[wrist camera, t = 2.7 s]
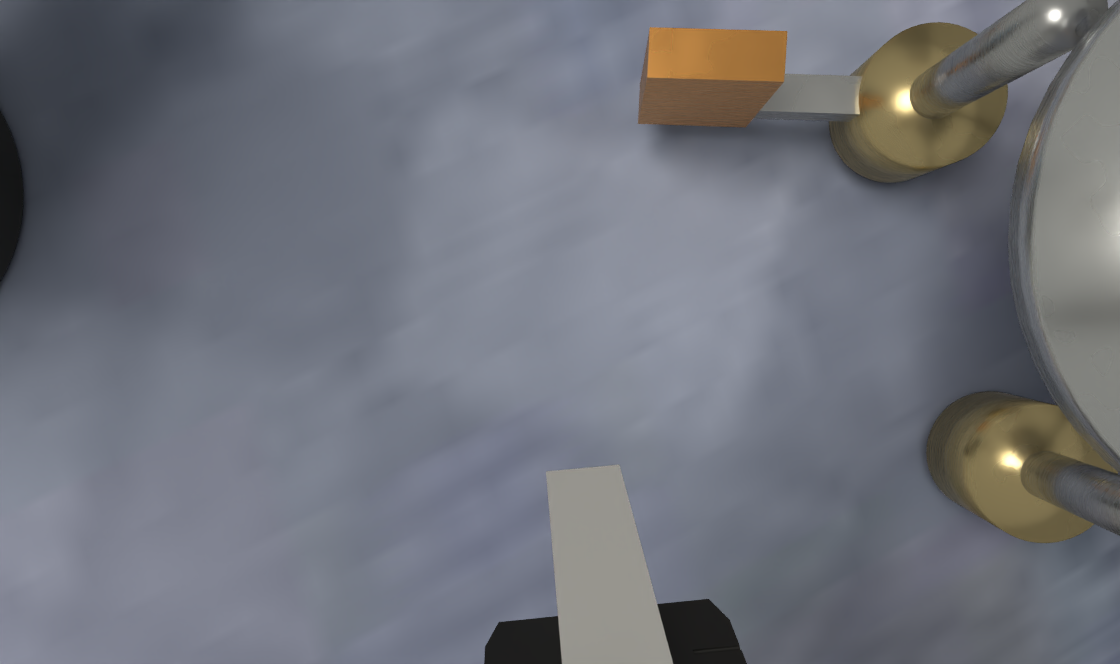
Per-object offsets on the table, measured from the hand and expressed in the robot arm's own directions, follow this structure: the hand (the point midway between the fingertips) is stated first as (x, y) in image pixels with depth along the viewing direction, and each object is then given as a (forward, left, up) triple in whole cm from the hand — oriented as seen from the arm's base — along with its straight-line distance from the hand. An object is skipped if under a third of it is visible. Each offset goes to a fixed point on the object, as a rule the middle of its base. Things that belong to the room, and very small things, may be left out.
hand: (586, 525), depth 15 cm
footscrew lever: (-9, +12, -18) cm, 23 cm away
